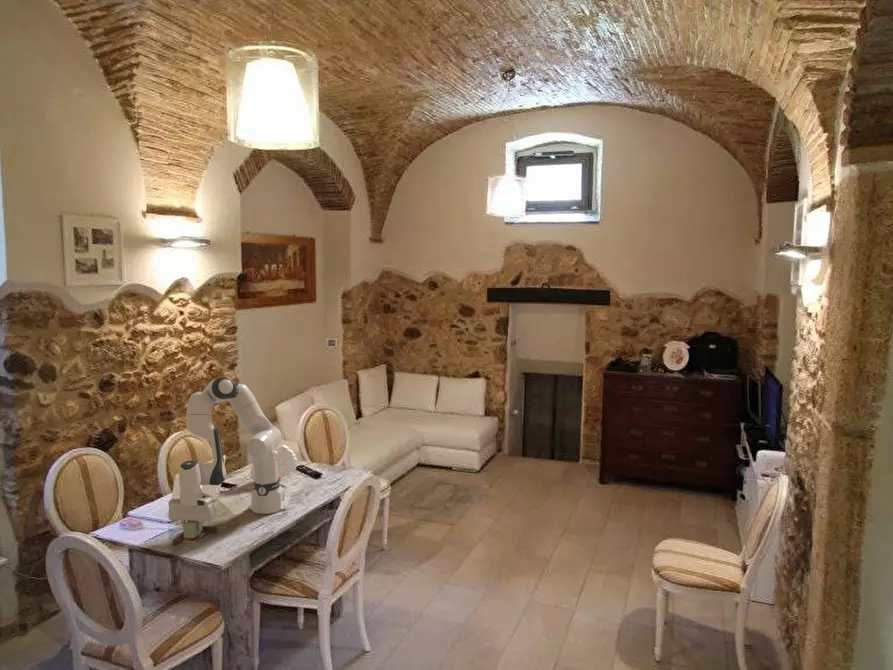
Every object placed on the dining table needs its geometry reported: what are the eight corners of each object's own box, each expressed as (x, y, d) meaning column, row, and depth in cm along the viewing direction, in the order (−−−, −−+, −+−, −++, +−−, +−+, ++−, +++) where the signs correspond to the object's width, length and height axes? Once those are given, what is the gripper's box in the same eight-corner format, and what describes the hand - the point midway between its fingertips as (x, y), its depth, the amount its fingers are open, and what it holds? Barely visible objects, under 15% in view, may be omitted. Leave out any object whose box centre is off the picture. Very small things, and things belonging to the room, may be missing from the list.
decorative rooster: (245, 486, 346) (243, 441, 344) (261, 477, 361) (259, 433, 359) (286, 490, 339) (284, 444, 336) (301, 481, 354) (299, 436, 351)
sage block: (183, 537, 278) (182, 524, 277) (192, 530, 286) (192, 517, 285) (193, 538, 278) (192, 524, 277) (202, 530, 286) (201, 517, 285)
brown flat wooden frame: (190, 530, 290) (190, 525, 290) (217, 531, 289) (217, 526, 288) (172, 545, 275) (172, 539, 275) (201, 546, 274) (201, 540, 273)
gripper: (164, 501, 278) (166, 531, 280) (210, 502, 276) (211, 533, 278) (172, 495, 284) (174, 525, 286) (216, 496, 282) (218, 527, 284)
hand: (193, 529), depth 282 cm, fingers closed on sage block, 4 cm apart
